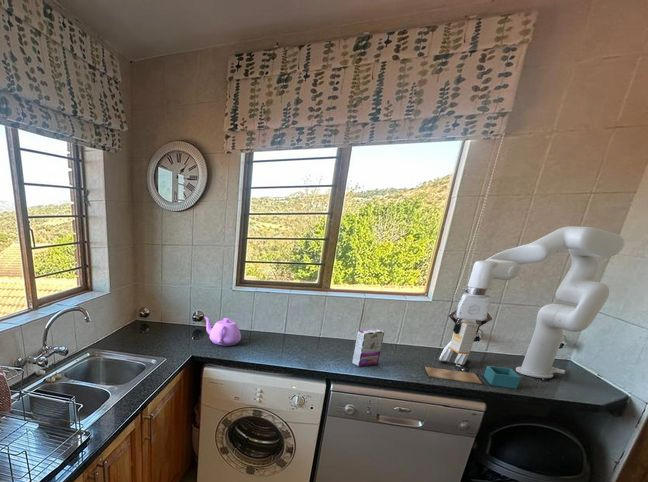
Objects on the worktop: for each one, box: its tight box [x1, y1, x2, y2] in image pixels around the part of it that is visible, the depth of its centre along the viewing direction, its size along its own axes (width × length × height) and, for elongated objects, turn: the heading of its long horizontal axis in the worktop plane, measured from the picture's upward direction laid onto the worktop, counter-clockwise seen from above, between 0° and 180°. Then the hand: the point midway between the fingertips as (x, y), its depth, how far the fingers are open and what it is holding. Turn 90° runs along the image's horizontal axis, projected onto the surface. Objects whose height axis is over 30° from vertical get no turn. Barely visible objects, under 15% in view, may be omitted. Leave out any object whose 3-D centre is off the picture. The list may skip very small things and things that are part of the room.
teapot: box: [203, 316, 242, 347], centre depth 222 cm, size 22×22×14 cm
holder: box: [483, 365, 521, 389], centre depth 171 cm, size 9×12×5 cm
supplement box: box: [449, 319, 479, 355], centre depth 173 cm, size 8×5×13 cm, turn 167°
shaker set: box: [438, 341, 470, 366], centre depth 193 cm, size 12×4×11 cm, turn 74°
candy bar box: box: [351, 328, 385, 367], centre depth 190 cm, size 11×5×16 cm, turn 105°
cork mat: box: [424, 366, 483, 385], centre depth 179 cm, size 19×13×1 cm
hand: (464, 333), depth 172 cm, fingers closed on supplement box, 5 cm apart
